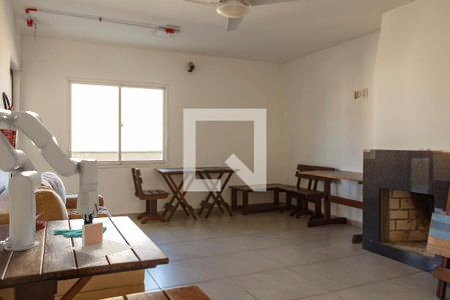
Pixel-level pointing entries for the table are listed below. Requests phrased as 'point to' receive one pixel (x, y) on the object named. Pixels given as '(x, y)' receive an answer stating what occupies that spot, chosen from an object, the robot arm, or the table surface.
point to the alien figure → (72, 232)
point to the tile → (92, 234)
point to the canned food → (40, 223)
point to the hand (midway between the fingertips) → (88, 229)
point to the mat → (102, 248)
